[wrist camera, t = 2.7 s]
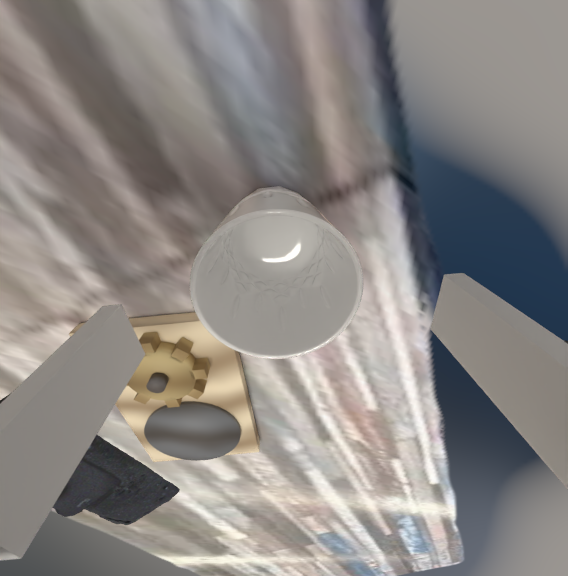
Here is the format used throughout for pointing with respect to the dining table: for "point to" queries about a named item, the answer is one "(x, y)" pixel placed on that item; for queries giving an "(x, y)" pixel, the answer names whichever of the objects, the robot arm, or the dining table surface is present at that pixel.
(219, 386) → the gear board
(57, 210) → the dining table surface
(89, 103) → the dining table surface
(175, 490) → the dark slate chunk
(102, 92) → the dining table surface
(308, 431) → the dining table surface
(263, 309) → the white cup
